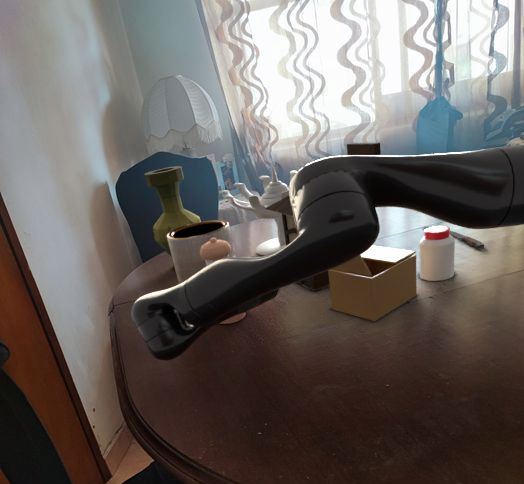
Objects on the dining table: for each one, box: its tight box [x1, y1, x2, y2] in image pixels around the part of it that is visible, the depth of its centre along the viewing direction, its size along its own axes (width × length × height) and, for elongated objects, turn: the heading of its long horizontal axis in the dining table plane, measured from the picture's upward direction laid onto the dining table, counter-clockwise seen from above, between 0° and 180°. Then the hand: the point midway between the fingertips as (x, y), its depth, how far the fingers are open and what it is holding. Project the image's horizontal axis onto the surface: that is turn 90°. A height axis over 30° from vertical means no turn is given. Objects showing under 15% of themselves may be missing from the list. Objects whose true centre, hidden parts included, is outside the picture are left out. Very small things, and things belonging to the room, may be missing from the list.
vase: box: [144, 165, 202, 271], centre depth 146 cm, size 16×16×30 cm
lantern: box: [265, 142, 382, 292], centre depth 116 cm, size 18×26×30 cm
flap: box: [333, 255, 372, 276], centre depth 92 cm, size 7×12×1 cm
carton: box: [328, 244, 418, 322], centre depth 101 cm, size 15×12×10 cm
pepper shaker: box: [200, 238, 246, 325], centre depth 105 cm, size 7×7×19 cm
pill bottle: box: [418, 225, 456, 282], centre depth 108 cm, size 8×8×11 cm
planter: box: [167, 219, 237, 285], centre depth 131 cm, size 18×18×16 cm
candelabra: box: [219, 162, 298, 256], centre depth 144 cm, size 34×35×27 cm
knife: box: [424, 226, 485, 249], centre depth 132 cm, size 28×1×5 cm
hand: (316, 255), depth 88 cm, fingers closed
